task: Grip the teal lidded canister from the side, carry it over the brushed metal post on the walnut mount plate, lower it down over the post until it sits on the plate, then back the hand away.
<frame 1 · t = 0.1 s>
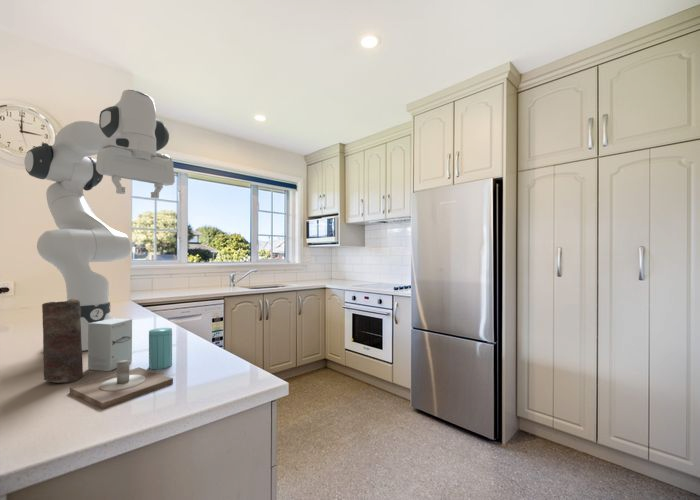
hand: (138, 196, 97), 48 cm above the counter, tool pointing down, fingers open, 8 cm apart
teal lidded canister: (160, 365, 93), on the counter
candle: (63, 380, 83), on the counter
supplement box: (110, 366, 93), on the counter
mount plate: (123, 387, 78), on the counter
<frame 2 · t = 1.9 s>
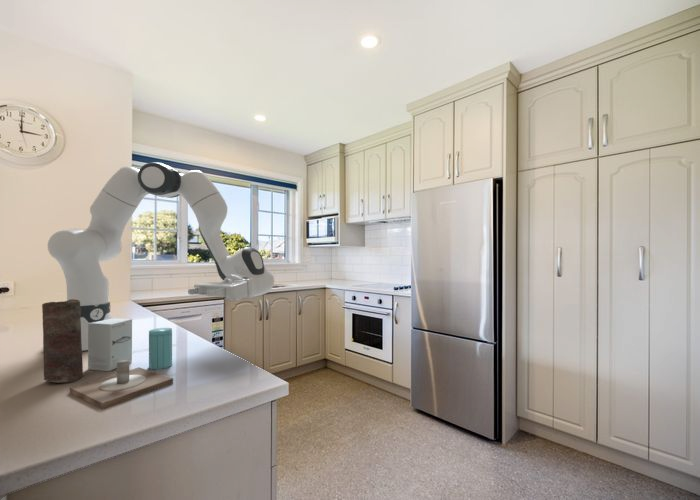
hand: (198, 292, 103), 19 cm above the counter, tool horizontal, fingers open, 8 cm apart
nothing on the counter moved.
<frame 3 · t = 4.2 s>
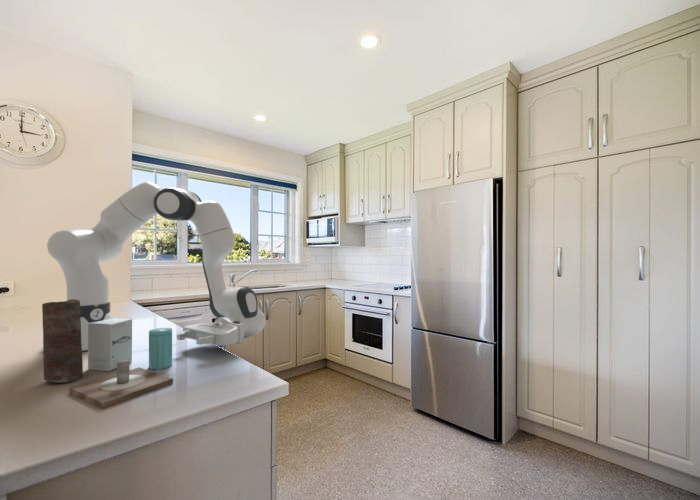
hand: (187, 339, 100), 5 cm above the counter, tool horizontal, fingers open, 8 cm apart
nothing on the counter moved.
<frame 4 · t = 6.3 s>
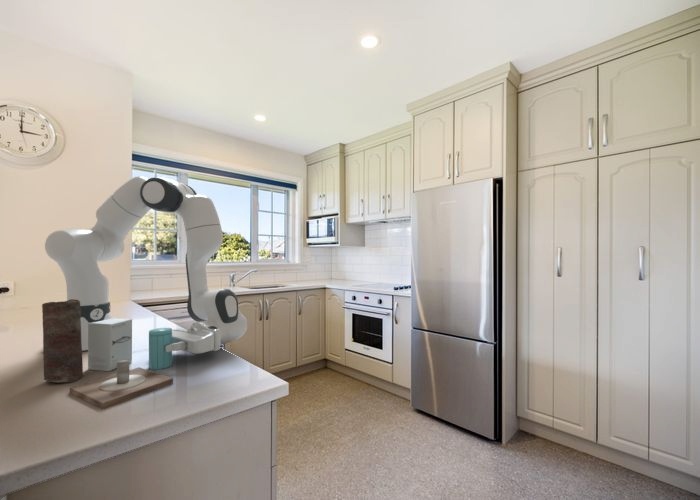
hand: (157, 346, 92), 6 cm above the counter, tool horizontal, fingers closed on teal lidded canister, 6 cm apart
teal lidded canister: (160, 365, 93), on the counter, touching gripper
everything else where it was.
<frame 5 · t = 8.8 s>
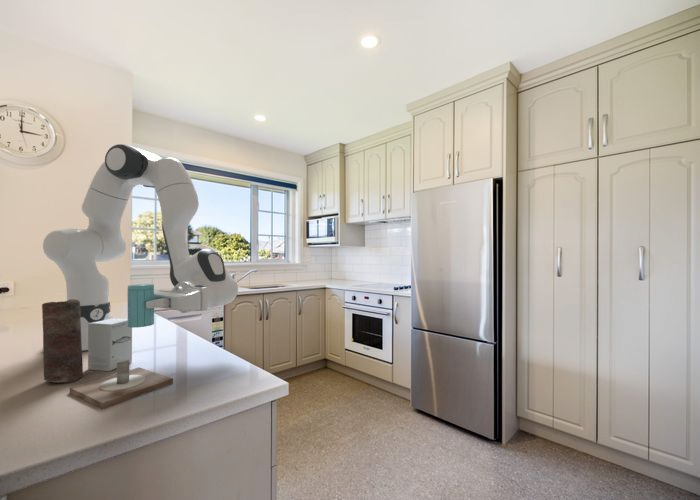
hand: (137, 303, 83), 19 cm above the counter, tool horizontal, fingers closed on teal lidded canister, 6 cm apart
teal lidded canister: (141, 324, 84), point 13 cm above the counter, touching gripper
everything else where it was.
when the fingers open (8 cm above the counter, at t = 11.3 s): teal lidded canister drops 1 cm, resting on mount plate.
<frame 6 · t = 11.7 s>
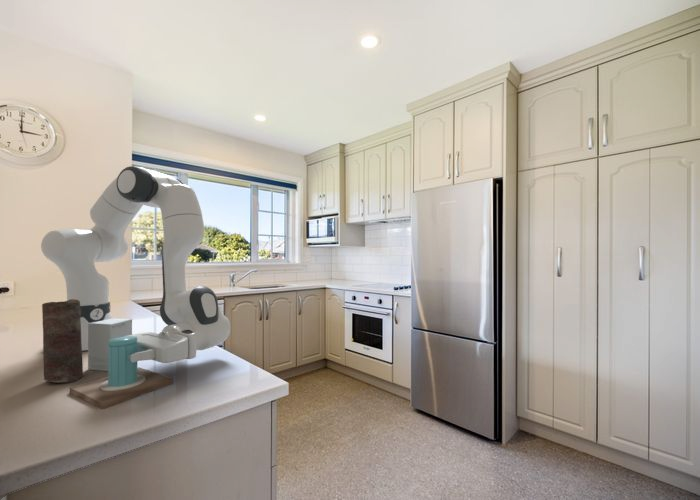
hand: (119, 355, 78), 8 cm above the counter, tool horizontal, fingers open, 8 cm apart
teal lidded canister: (123, 381, 79), point 1 cm above the counter, touching mount plate
everything else where it was.
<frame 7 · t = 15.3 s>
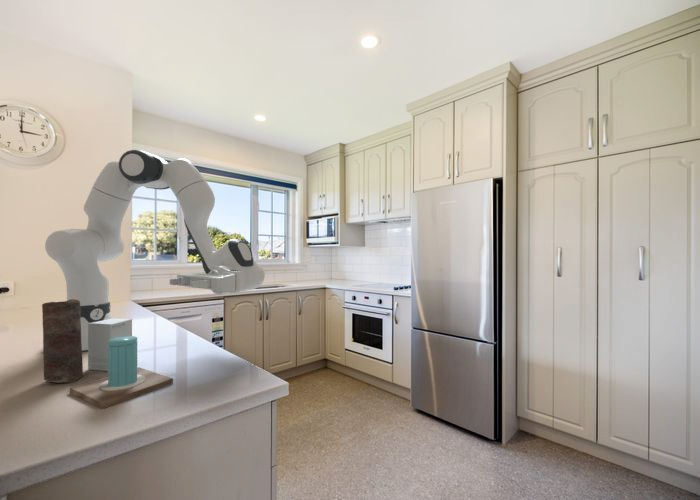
hand: (180, 283, 94), 23 cm above the counter, tool horizontal, fingers open, 8 cm apart
nothing on the counter moved.
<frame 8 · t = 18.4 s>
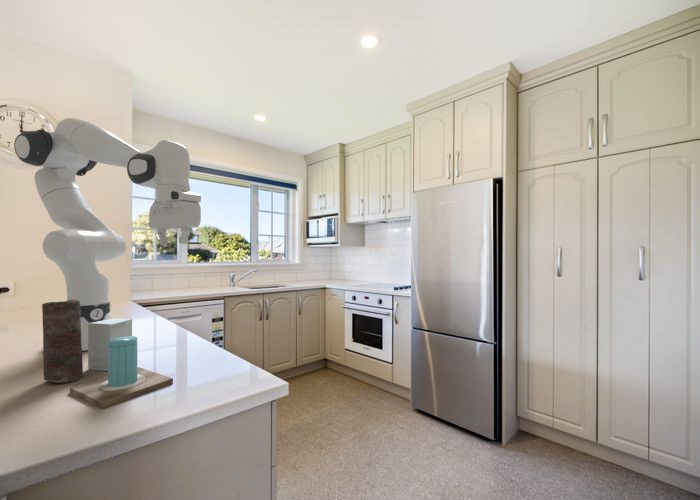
hand: (173, 244, 98), 34 cm above the counter, tool pointing down, fingers open, 8 cm apart
nothing on the counter moved.
at the end: teal lidded canister 0.1 cm off-centre on the mount plate, point 1.4 cm above the mount plate's base; teal lidded canister tilted 0°; the gripper is holding nothing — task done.
